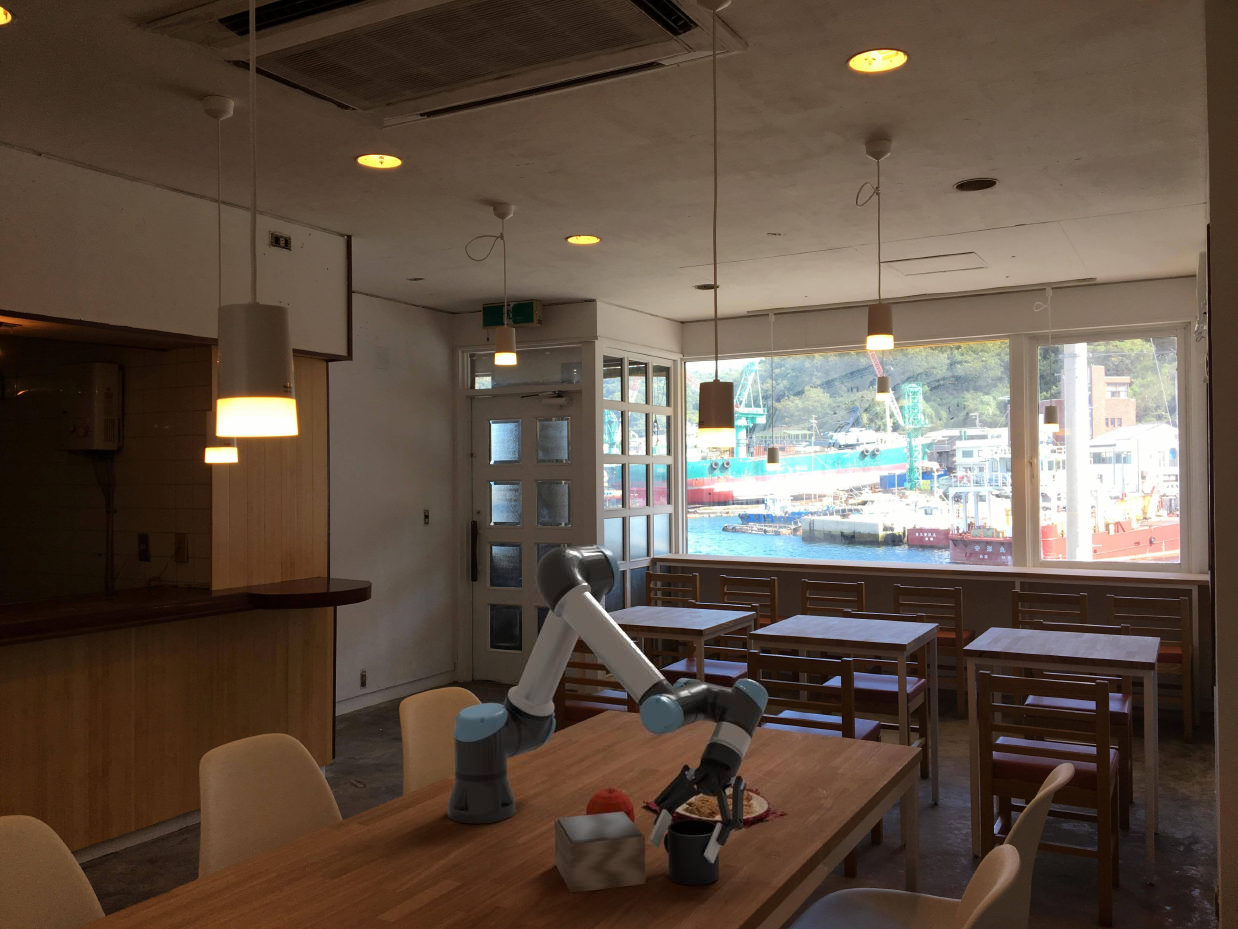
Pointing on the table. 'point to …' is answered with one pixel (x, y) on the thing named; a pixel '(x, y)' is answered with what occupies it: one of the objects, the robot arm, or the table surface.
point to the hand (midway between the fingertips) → (680, 851)
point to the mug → (690, 852)
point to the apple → (610, 803)
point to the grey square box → (599, 851)
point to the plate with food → (709, 810)
